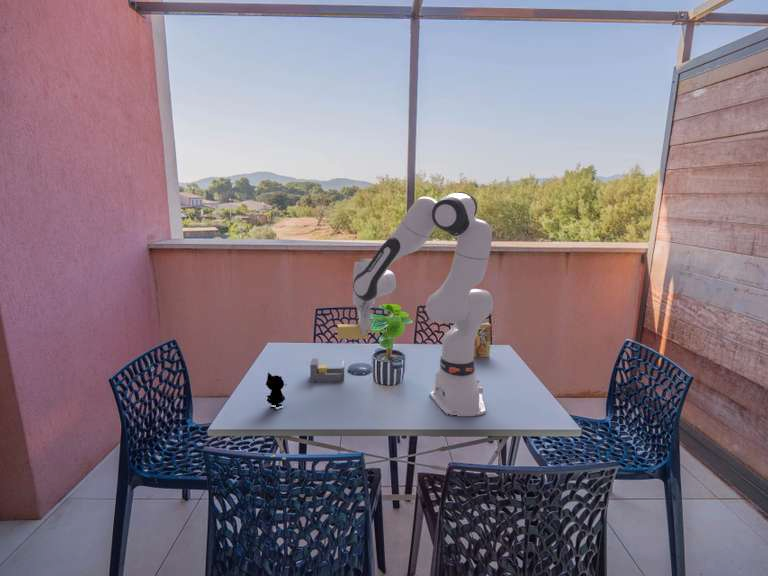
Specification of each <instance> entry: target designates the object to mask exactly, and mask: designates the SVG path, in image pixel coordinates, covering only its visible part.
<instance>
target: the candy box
mask: <svg viewBox="0 0 768 576" xmlns="http://www.w3.org/2000/svg"><path fill="white" fill-rule="evenodd" d="M492 327H493V325H492V324H491V323H489V322H483V323H482V324H481V326H480V328H479V330H478V333H477V335H476V339H475V345H474V355H473V359H476V357H477V358H488V357H489V358H490V353H491V352H490V351H491V340H492V339H491V338H492Z"/></svg>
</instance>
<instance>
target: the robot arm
mask: <svg viewBox="0 0 768 576" xmlns="http://www.w3.org/2000/svg"><path fill="white" fill-rule="evenodd" d="M477 211H478V203H477V201H476V199H475V198H474V197H473V196H472V195H471V194H470V193H468V192H464V191H463V192H462V191H459V192H454V193H450V194H448V195H445V196H443V197H442V198H440V199H439V200H438V201H437V200H436V199H434V198H433V197H429V196H421V197H419V198H417V200H416V201H415V202H413V204H412V205H411V206H410V207H409V209H408V210H407V212H406V213H405V214H404V216H403V218H402V219H401V221H400V223H398V226H397V227H396V228H395V230H394V232H392V234H391V235H390V236H389V237H388V239H386V240H385V242H384V243H383V244H382V245H381V247H380V248H379V249H378V251H377V252H376V254H375V255H374V256H373V258H363V259H358V260H357V261H355V263H354V266H353V271H352V275H353V277H352V281H353V283H352V284H353V285H352V288H353V290H352V304H353V305H354V306H355V308H356V309H357V314H358V320H359V321H358V322H359V323H358V324H360V329H361V334H362V335H366V329H368V330H369V329H370V326H371V312H370V311H371V309H372V307H373V306H374V305H375V304H376V298H379V297H383V296H386V295H389V294H392V293H394V292H395V291H396V288H397V286H398V285H397V284H398V279H397V276H396V274H395V273H394V272H393V271H392V270H390V269H389V268H390V266H391V265H392V264H393V263H394V262H395V261H397V260H399V259H401V258H402V257H405V256H407V255H409V254H413V253H414V252H417V251H419V250H420V249H421V248H422V247H423V246H424V245H425V244H426V243H427V241H428V239H429V238H430V237H431V235H432V234H433V232H434V230H435V229H436V228H439V229H440V230H441V231H444V232H447V233H448V234H450V235H452V236H453V237H457V240H456V246H455V250H454V256H453V259H452V264H451V268H450V271H449V273H448V275H447V277H446V279H445V280H444V282H443V283H442V285H441V286H440V287H439V288H438V289H437V290H436V291H435V292H434V293H432V294H431V295H429V296H428V298H427V301H426V303H425V312H426V314H427V316H428V318H429V319H430V320H431V321H432V322H434V323H439V324H453V325H452V326H451V328H450V329H448V330H447V331H446V332H445V333H444V335H443V337H442V345H441V347H442V348H441V349H442V350H441V356H440V360H439V367H440V368H439V370H438V371H437V372H435V379H434V389H433V390H432V391H430V392H429V397H430V398H431V399H432V400H433V401H434V403H436V405H437V406H438V407H439V408H440V409H441V411H442V410H443V411H444V412H443V411H442V412H443V413H444V414H445V413H446V414H445V415H448V414H450V415H449V416H452V415H457V416H456V417H475V416H476V415H477V416H481V415H484V414H486V413H487V412H486V411H487V410H486V406H485V403H484V399H483V396H482V394H484V387H483V386H479V385H478V384H479V383H480V379H477V372H476V371H475V367H476V364H475V358H473V355H474V345H475V339H476V335H477V333H478V330H479V328H480V326H481V324H482V323H484V321H485V320H486V319H487V318H488V317H489V316H490V315H491V314H492V312H493V310H494V305H495V304H494V298H493V297H492V295H491V293H490V292H489V291H488V290H486V289H485V290H484V289H480V288H475V287H476V286H477V285H478V284H480V283H481V282H482V281H483V279H484V277H485V275H486V271H487V267H488V262H489V258H490V254H491V253H490V252H491V250H492V249H491V248H492V239H493V228H492V227H491V225H490V224H489V223H488V222H487V221H485V220H482V219H479V218H477V217H476V215H477ZM477 416H476V417H477Z"/></svg>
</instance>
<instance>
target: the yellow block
mask: <svg viewBox="0 0 768 576" xmlns="http://www.w3.org/2000/svg"><path fill="white" fill-rule="evenodd" d="M368 339H369V329H366V335H362V334H361V329H360V323H356V324H355V323H349V324H348V323H345V324H343V323H341V324H339V323H338V324H337V340H368Z"/></svg>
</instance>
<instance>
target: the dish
mask: <svg viewBox="0 0 768 576" xmlns="http://www.w3.org/2000/svg"><path fill="white" fill-rule="evenodd" d="M371 366H372V365H371V364H369V363H365V362H357V363H351V364H350V365H348V367H347V368H348V370H349V371H350V372H352V373H356V374H355V375H357V374H363V373H368V374H370V373H371V370H372V371H373V366H372V367H371ZM349 371H348V372H349ZM350 372H349V373H350ZM369 372H370V373H369ZM352 373H351V374H352ZM363 375H364V374H363Z"/></svg>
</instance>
